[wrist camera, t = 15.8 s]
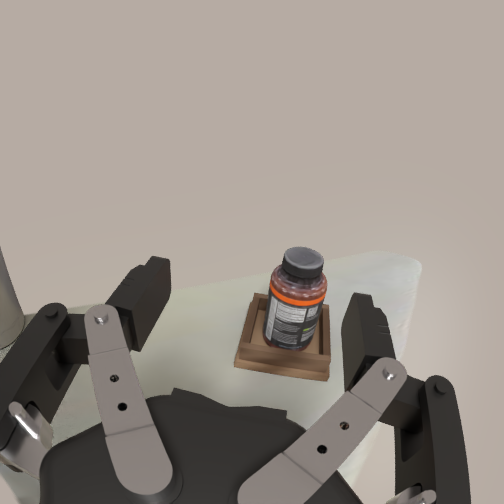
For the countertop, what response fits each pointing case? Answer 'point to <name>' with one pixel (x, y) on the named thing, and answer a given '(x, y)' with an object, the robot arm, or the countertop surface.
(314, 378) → the square wooden tray
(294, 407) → the countertop surface
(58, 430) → the countertop surface
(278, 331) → the supplement bottle
